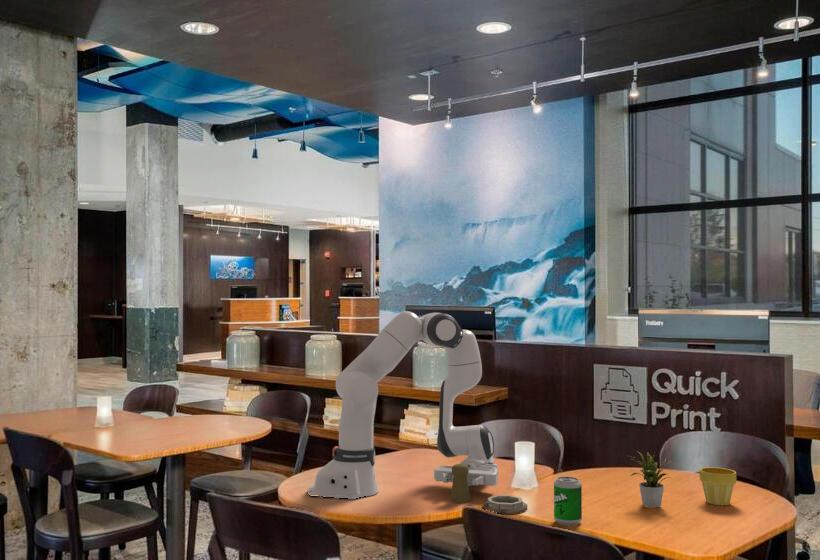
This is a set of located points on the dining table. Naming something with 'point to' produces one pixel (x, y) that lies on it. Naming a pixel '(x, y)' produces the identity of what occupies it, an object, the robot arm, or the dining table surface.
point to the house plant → (651, 482)
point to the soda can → (567, 501)
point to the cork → (460, 484)
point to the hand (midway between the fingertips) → (459, 481)
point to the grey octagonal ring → (505, 504)
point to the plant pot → (717, 484)
